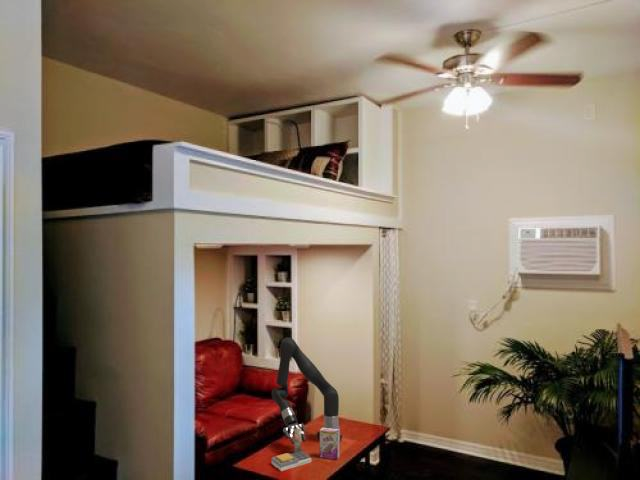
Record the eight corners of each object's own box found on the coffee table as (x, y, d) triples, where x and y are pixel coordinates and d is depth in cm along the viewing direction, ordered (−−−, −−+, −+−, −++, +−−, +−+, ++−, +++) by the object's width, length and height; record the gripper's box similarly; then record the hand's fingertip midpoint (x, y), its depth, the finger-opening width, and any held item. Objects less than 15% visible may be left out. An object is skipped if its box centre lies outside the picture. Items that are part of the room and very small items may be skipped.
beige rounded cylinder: (299, 450, 300) (299, 427, 300) (304, 453, 295) (304, 430, 295) (291, 452, 296) (291, 429, 296) (296, 455, 292) (296, 432, 292)
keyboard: (301, 455, 292) (301, 449, 292) (311, 461, 283) (311, 455, 283) (271, 463, 281) (271, 457, 281) (281, 471, 272) (281, 464, 272)
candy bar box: (319, 458, 288) (318, 430, 288) (321, 454, 293) (321, 427, 293) (337, 460, 285) (337, 431, 285) (339, 456, 290) (339, 428, 290)
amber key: (287, 455, 285) (287, 453, 285) (293, 459, 279) (293, 457, 279) (276, 458, 281) (276, 456, 281) (282, 462, 275) (282, 460, 275)
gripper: (281, 416, 298) (291, 442, 288) (301, 411, 306) (311, 436, 296) (276, 422, 302) (286, 448, 293) (297, 417, 310) (307, 442, 301)
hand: (299, 442), depth 294 cm, fingers open, 7 cm apart
